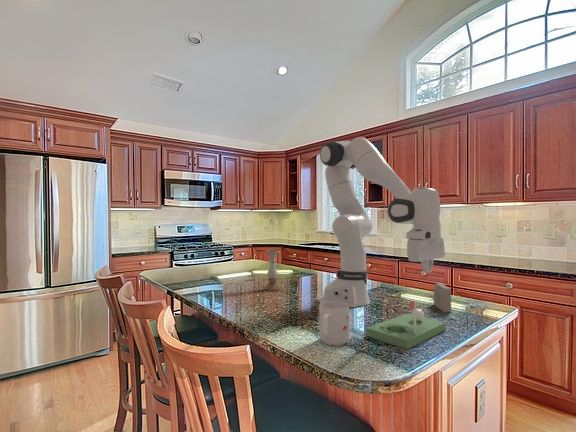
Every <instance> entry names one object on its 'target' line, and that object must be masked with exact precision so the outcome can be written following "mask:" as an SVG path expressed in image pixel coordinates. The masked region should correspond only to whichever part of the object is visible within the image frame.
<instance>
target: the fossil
mask: <svg viewBox="0 0 576 432" xmlns="http://www.w3.org/2000/svg"><path fill="white" fill-rule="evenodd" d="M451 290H452V289H451V288H450V287H448V286H446V285H445V284H444V283H442V282H435V285H434V288H433V295H432V296H433V298H432V299H433V305H434V306H435V307H436V308H437V309H438V310H440V311H441V312H442V313H452V291H451Z"/></svg>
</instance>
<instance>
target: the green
mask: <svg viewBox="0 0 576 432" xmlns="http://www.w3.org/2000/svg"><path fill="white" fill-rule="evenodd" d="M408 309H409V311H410V310H412V311H413V318H412V314H410V313H403V314H401V315H399V316H395V317H393V318H390V319H387V320H386V321H382V322H380V323H379V322H378V323H377V324H374V325H371V326H368V327H366V337H368V336H369V338H371V337H372V339H375V340H379V341H380V342H384V343H387V344H390V345H393V346H396V347H399V348H403V349H405V350H410V349H411V348H413V347H415V346H417V345H419V344H421V343H423V342H425V341H427V340H429V339H431V338H433V337H435V336H437V335H439V334H441V333H442V332H445V331H446V322H443V321H439V320H435V319H430V318H427V317H424V319H423V320H422V321H416V309H417V301H416V300H413V301H410V302H408Z"/></svg>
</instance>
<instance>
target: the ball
mask: <svg viewBox="0 0 576 432" xmlns="http://www.w3.org/2000/svg"><path fill="white" fill-rule="evenodd" d="M411 315H412V318H413V310H412V312H411ZM424 318H425V313H424V311H423V310H421V308H416V321H422V320H423V319H424Z"/></svg>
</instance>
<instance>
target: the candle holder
mask: <svg viewBox="0 0 576 432" xmlns="http://www.w3.org/2000/svg"><path fill="white" fill-rule="evenodd" d="M280 251H281V250H277V249H267V250H265V253H266V254H268V257H269V260H268V262H269V268H268V270H267V277H268V279H267V281H268V284H266V285H265V286H264V287H263V288H264V291H266V290H268V292H277V291H276V290H278V291H281V290H282V287H281V286H280V284H278V283H277V281H278V279H277V277H278V270H277V268H276V262H277V259H276V257H277V254H279V253H280ZM280 289H281V290H280Z"/></svg>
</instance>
